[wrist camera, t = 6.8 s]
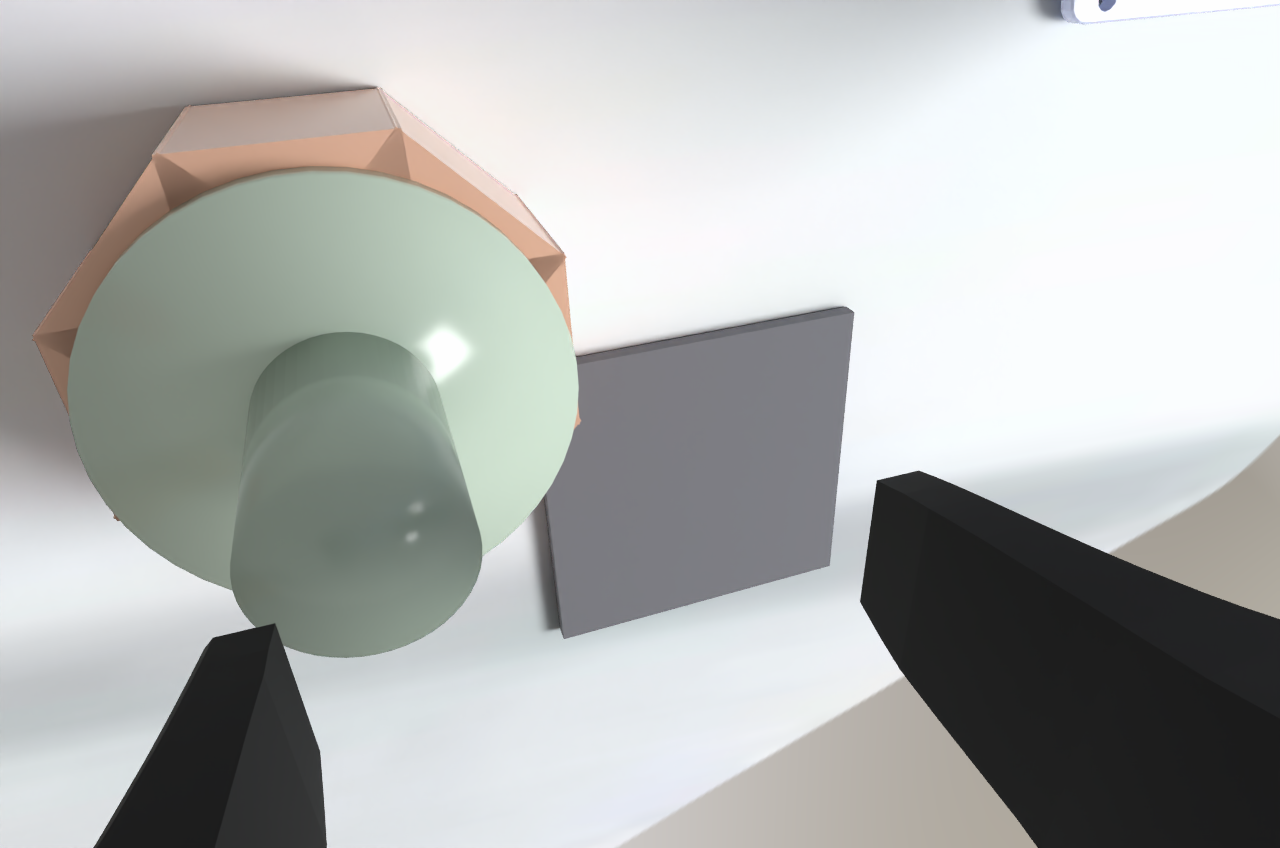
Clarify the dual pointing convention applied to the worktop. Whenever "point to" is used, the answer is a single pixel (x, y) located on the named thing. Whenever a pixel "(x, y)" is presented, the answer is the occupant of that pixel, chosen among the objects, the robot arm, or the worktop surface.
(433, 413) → the lid
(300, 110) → the bowl
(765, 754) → the worktop surface
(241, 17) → the worktop surface
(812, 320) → the mat
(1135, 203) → the worktop surface
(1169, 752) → the robot arm
